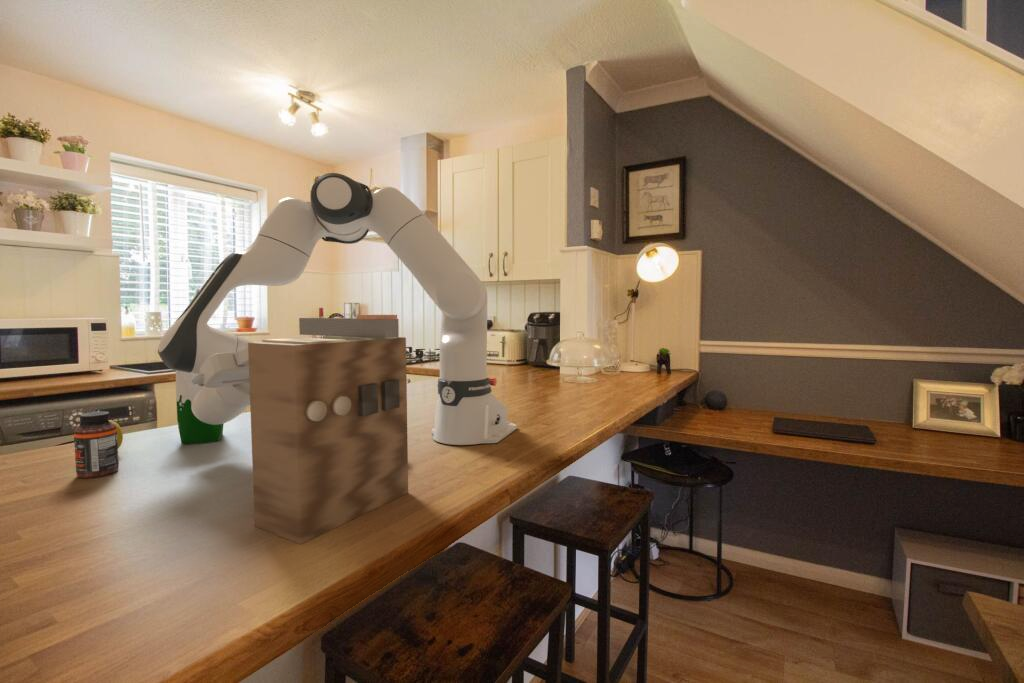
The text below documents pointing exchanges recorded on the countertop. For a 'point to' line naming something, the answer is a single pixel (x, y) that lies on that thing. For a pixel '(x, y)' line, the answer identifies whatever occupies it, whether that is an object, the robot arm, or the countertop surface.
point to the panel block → (326, 430)
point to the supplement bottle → (96, 445)
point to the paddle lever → (352, 326)
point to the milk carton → (187, 421)
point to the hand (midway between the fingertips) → (285, 345)
